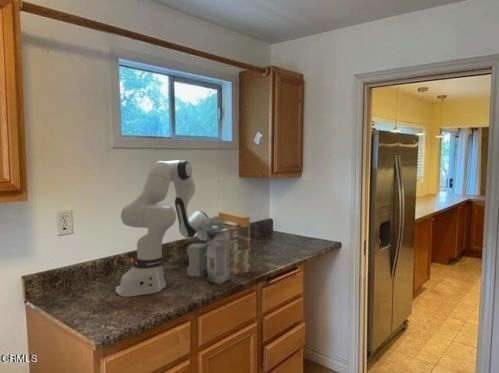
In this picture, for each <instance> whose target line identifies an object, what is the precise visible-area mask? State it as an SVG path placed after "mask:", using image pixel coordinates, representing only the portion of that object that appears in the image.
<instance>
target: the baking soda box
mask: <svg viewBox="0 0 499 373" xmlns="http://www.w3.org/2000/svg"><path fill="white" fill-rule="evenodd" d="M237 250H238V231H237V228H234V251H237Z"/></svg>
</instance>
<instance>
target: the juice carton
mask: <svg viewBox="0 0 499 373" xmlns="http://www.w3.org/2000/svg"><path fill="white" fill-rule="evenodd" d="M206 232H207V240H206V244H207V273H206V275H207V282H208V283H211V284H214V285H221V284H223V283H225V282H227V281H230V277H231V275H230V246H229V233H230V229H227V228H219V227H218V226H212V229H211V230H207V231H206Z"/></svg>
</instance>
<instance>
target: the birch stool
mask: <svg viewBox="0 0 499 373" xmlns="http://www.w3.org/2000/svg"><path fill="white" fill-rule="evenodd" d="M221 228H227V229H230V233H229V246H230V276H234V275H238V274H243V273H247V272H251V270H252V269H251V262H252V261H251V259H252V258H251V224H250V225H244V226H243V225H239V224H235V223H231V222H221ZM234 228H237V231H238V250H237V251H234Z"/></svg>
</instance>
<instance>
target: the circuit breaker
mask: <svg viewBox="0 0 499 373" xmlns="http://www.w3.org/2000/svg"><path fill="white" fill-rule="evenodd" d="M186 255H187V256H188V266H187V270H186V271H187V276H189V277H204V276H205V275H207V243H191V244H190V245H188V246H187V249H186Z"/></svg>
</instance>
